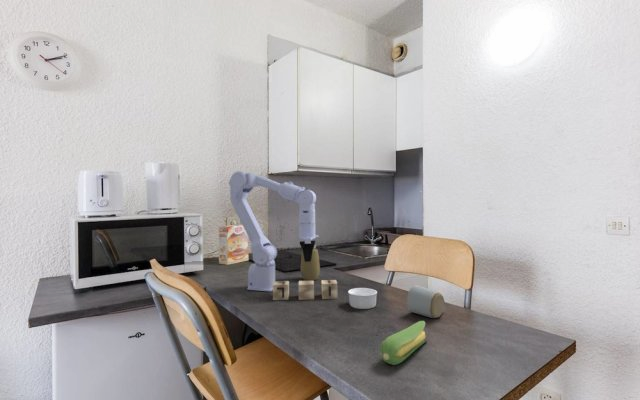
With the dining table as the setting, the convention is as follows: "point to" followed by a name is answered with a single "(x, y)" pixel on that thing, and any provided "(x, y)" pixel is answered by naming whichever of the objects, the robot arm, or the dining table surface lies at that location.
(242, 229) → the coffeecake box
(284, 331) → the dining table surface
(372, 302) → the ramekin
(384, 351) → the edible corn
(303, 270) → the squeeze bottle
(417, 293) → the grey and brown cylinder
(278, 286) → the numbered block seven
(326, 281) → the numbered block one
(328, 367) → the dining table surface
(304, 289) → the plain block
